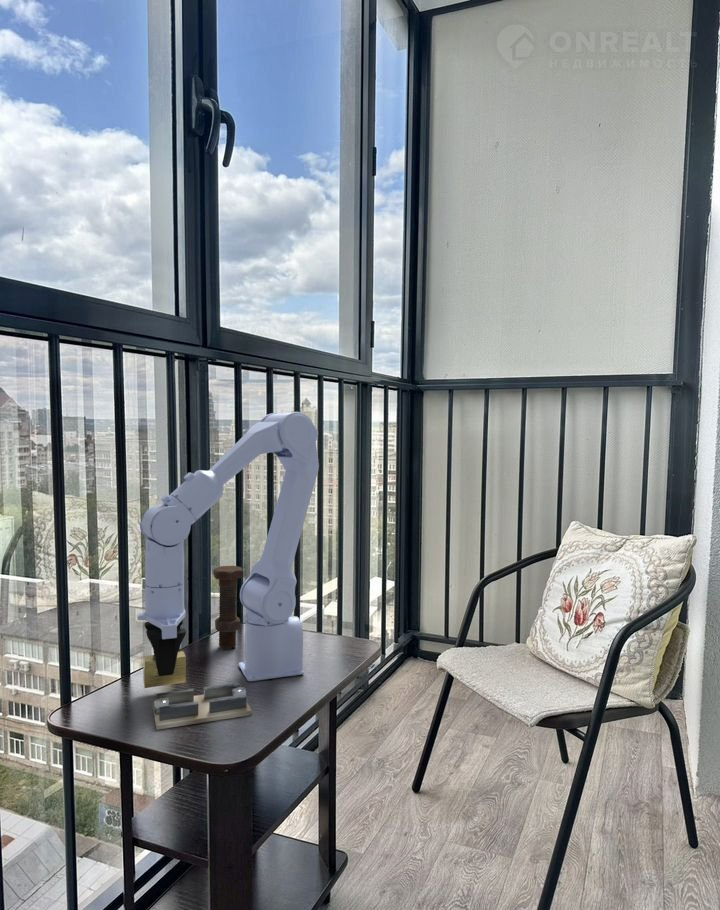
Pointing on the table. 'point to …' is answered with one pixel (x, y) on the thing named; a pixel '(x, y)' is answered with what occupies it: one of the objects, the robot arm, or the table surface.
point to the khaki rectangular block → (154, 680)
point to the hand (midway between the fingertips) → (164, 671)
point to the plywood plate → (201, 714)
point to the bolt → (227, 605)
